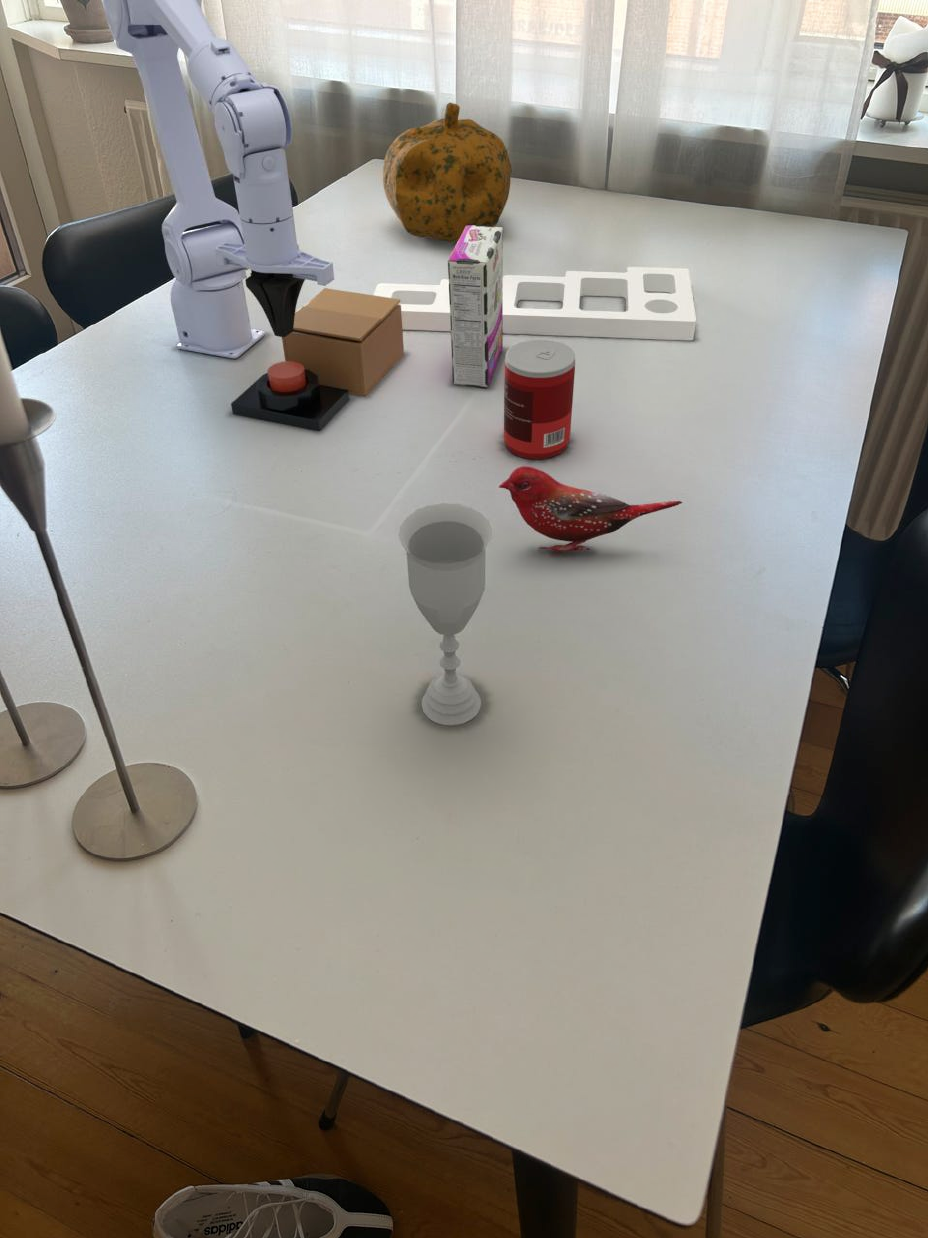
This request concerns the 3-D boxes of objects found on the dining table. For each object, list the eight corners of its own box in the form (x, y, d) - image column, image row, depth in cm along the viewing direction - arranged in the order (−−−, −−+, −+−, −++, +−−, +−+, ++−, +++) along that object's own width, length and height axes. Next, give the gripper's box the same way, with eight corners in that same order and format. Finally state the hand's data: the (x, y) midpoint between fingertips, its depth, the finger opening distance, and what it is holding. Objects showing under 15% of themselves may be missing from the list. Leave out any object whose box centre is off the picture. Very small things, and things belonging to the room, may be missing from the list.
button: (263, 390, 116) (260, 374, 115) (281, 373, 119) (278, 358, 118) (295, 396, 115) (293, 380, 114) (312, 379, 118) (310, 363, 117)
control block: (232, 414, 118) (227, 388, 116) (265, 384, 124) (261, 359, 121) (319, 431, 115) (316, 405, 113) (349, 400, 120) (346, 374, 118)
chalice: (409, 675, 84) (396, 505, 72) (486, 669, 85) (487, 500, 73) (413, 738, 79) (400, 566, 67) (495, 732, 79) (497, 560, 67)
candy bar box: (467, 346, 131) (465, 223, 120) (503, 349, 130) (505, 225, 119) (449, 386, 123) (446, 258, 112) (488, 389, 122) (488, 260, 111)
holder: (368, 328, 135) (366, 309, 134) (389, 276, 149) (388, 258, 147) (693, 340, 131) (696, 321, 129) (686, 286, 145) (688, 268, 143)
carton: (330, 342, 132) (324, 287, 127) (404, 354, 129) (400, 299, 124) (288, 382, 124) (279, 325, 119) (365, 396, 121) (360, 338, 116)
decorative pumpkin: (393, 200, 171) (395, 76, 157) (510, 215, 170) (522, 91, 156) (369, 248, 157) (368, 116, 143) (496, 265, 156) (509, 133, 142)
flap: (324, 290, 127) (324, 287, 127) (400, 301, 124) (400, 299, 124) (304, 309, 123) (303, 306, 123) (381, 321, 120) (381, 318, 120)
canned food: (576, 430, 114) (583, 343, 107) (559, 465, 109) (565, 376, 101) (515, 420, 116) (517, 334, 109) (494, 454, 111) (495, 366, 103)
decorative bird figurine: (497, 542, 98) (498, 458, 92) (672, 543, 98) (686, 459, 91) (497, 560, 96) (498, 475, 90) (676, 561, 96) (690, 476, 89)
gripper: (343, 212, 105) (354, 330, 114) (233, 193, 109) (253, 308, 118) (307, 234, 100) (322, 355, 109) (194, 214, 105) (218, 332, 114)
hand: (284, 333), depth 113 cm, fingers closed
